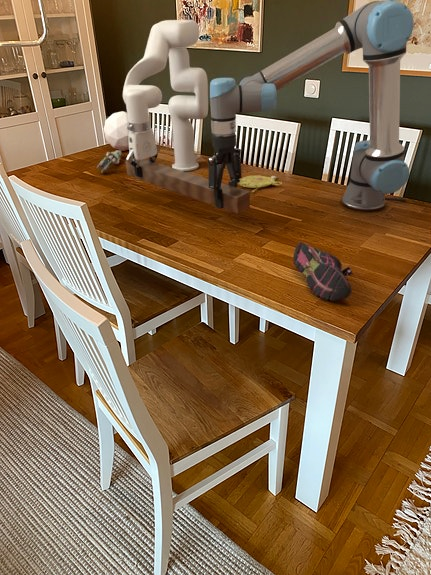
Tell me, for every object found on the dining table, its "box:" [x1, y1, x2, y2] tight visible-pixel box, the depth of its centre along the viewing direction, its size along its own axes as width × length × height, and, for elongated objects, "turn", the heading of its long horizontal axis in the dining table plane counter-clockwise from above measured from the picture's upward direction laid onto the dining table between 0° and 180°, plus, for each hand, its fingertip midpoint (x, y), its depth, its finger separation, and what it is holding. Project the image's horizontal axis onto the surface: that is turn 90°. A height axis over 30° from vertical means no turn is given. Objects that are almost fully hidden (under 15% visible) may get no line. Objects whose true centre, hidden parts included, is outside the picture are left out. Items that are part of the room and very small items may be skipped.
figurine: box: [96, 149, 123, 174], centre depth 213 cm, size 7×8×30 cm
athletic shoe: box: [292, 242, 355, 301], centre depth 117 cm, size 11×22×12 cm
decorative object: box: [237, 174, 283, 193], centre depth 186 cm, size 21×2×20 cm
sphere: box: [103, 110, 130, 152], centre depth 233 cm, size 19×20×20 cm
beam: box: [124, 158, 251, 215], centre depth 159 cm, size 57×6×6 cm, turn 47°
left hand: (145, 173), depth 172 cm, fingers closed on beam, 6 cm apart
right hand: (226, 204), depth 148 cm, fingers closed on beam, 6 cm apart
